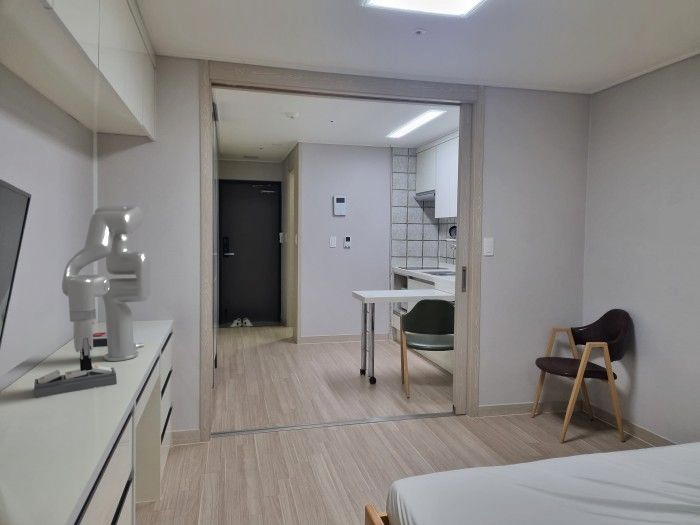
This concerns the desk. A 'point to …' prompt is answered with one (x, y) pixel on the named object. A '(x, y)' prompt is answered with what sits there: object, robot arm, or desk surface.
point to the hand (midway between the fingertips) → (86, 370)
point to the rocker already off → (101, 369)
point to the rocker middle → (74, 373)
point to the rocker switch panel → (74, 383)
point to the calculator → (100, 339)
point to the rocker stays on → (49, 377)
